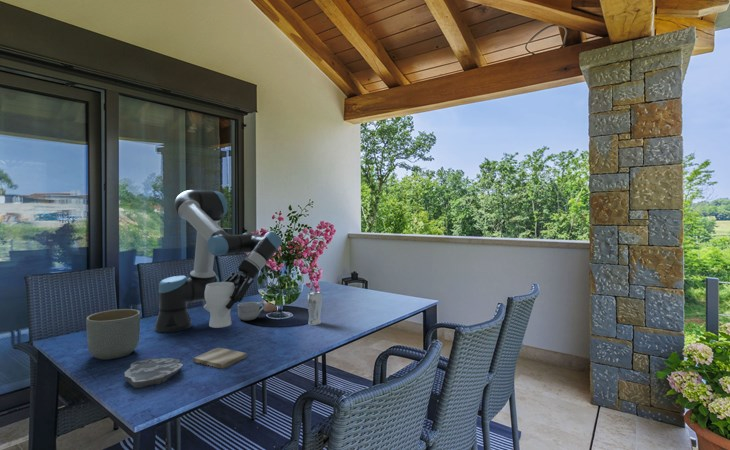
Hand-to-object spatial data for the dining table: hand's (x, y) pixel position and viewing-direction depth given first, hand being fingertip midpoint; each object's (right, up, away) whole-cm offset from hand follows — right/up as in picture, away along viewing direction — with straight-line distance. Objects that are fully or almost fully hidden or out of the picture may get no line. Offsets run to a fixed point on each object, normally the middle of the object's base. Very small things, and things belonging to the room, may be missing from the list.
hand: (212, 312), depth 139 cm
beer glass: (+30, -17, +49) cm, 60 cm away
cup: (+2, -5, +2) cm, 6 cm away
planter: (-40, -18, +6) cm, 44 cm away
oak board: (+2, -18, +3) cm, 18 cm away
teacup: (-2, -16, +56) cm, 59 cm away
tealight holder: (+3, -15, +74) cm, 75 cm away
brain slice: (-15, -19, -11) cm, 27 cm away
